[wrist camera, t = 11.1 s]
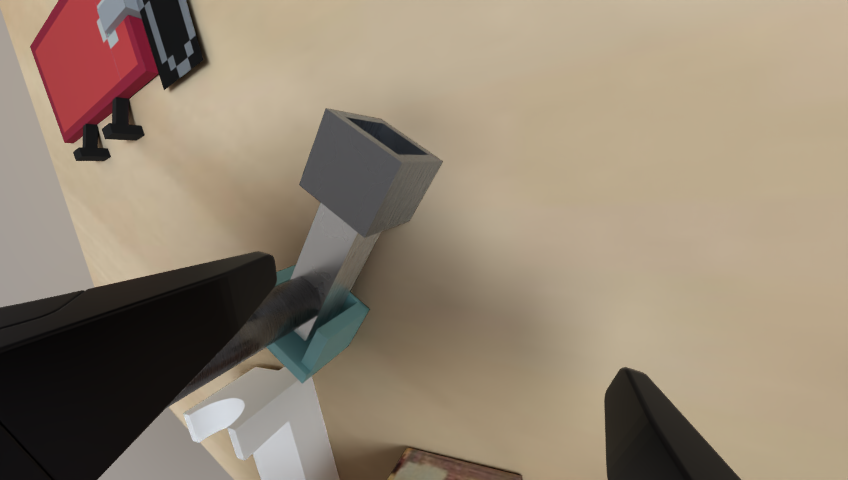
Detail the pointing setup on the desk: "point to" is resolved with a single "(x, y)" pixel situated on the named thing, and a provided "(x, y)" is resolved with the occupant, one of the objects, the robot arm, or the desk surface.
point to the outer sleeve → (367, 171)
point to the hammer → (299, 294)
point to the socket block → (318, 337)
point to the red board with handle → (110, 62)
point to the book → (442, 468)
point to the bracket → (269, 424)
